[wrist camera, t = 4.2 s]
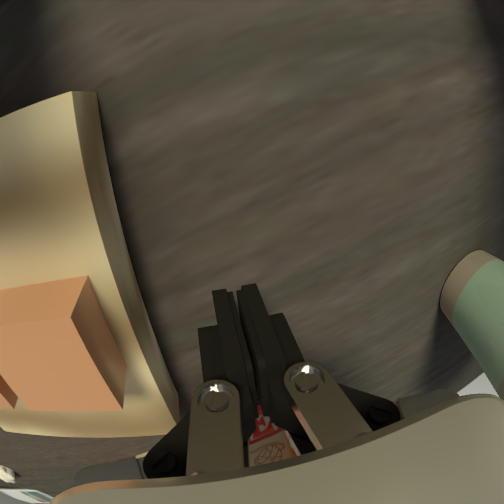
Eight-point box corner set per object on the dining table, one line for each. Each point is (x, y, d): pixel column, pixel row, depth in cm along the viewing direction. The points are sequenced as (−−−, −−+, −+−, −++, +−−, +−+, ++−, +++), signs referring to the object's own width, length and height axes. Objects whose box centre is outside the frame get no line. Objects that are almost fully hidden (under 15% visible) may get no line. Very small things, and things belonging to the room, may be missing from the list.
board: (-97, 179, 8) (-127, 197, 6) (96, 91, 10) (71, 90, 8) (13, 401, 17) (4, 431, 14) (178, 395, 19) (180, 432, 16)
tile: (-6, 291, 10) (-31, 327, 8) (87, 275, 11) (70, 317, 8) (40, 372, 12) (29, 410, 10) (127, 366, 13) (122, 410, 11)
